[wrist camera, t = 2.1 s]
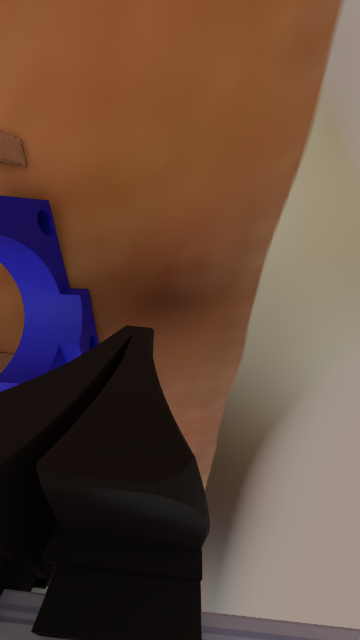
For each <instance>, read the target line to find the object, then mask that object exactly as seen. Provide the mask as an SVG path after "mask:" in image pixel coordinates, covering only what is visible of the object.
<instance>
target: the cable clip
mask: <svg viewBox="0 0 360 640" xmlns="http://www.w3.org/2000/svg"><path fill="white" fill-rule="evenodd" d="M0 262H1V263H2V264H3V265H4V266H5V268H6V269H7V270H8V271H9V272H10V274H11V275H12V277H13V278H14V280H15V282H16V284H17V286H18V288H19V290H20V293H21V296H22V299H23V304H24V312H25V322H24V330H23V335H22V338H21V341H20V344H19V346H18V349H17V351H16V353H15V354H14V356H13V358H12V359H11V361H10V362H9V364H8V365H7V366H6V367H5V369H4V370H3V371H2V372H1V373H0V392H1V391H3V390H6V389H9V388H11V387H14V386H17V385H19V384H21V383H24V382H26V381H28V380H31V379H33V378H36V377H38V376H40V375H43V374H45V373H47V372H49V371H52V370H54V369H56V368H58V367H60V366H62V365H64V364H66V363H68V362H70V361H71V360H73V359H75V358H77V357H79V356H80V355H82V354H84V353H85V352H87V351H89V350H90V349H92V348H94V347H95V346H97V345H99V343H98V338H97V333H96V327H95V322H94V317H93V312H92V307H91V302H90V296H89V291H88V289H71V288H69V284H68V280H67V275H66V271H65V267H64V263H63V259H62V255H61V250H60V246H59V242H58V238H57V234H56V229H55V225H54V221H53V217H52V213H51V209H50V204H49V201H47V200H37V199H28V198H19V197H9V196H0Z"/></svg>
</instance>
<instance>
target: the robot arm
mask: <svg viewBox="0 0 360 640" xmlns="http://www.w3.org/2000/svg"><path fill="white" fill-rule="evenodd" d="M153 340H154V330H153V329H152V328H146V327H137V326H128V325H127V326H125V327H123V328H122V329H121V330H119V331H118V332H116V333H115V334H113V335H112V336H110V337H109V338H107V339H106V340H104V341H103V342H102V343H100V344H99V345H97V346H95V347H94V348H92V349H90V350H89V351H87V352H85V353H84V354H82V355H80V356H79V357H77V358H75V359H73V360H71V361H70V362H68V363H66V364H64V365H62V366H60V367H58V368H56V369H54V370H52V371H49V372H47V373H45V374H43V375H40V376H38V377H36V378H33V379H31V380H28V381H26V382H24V383H21V384H19V385H17V386H14V387H11V388H9V389H6V390H3V391H1V392H0V640H360V629H351V628H343V627H333V626H324V625H316V624H306V623H298V622H290V621H281V620H272V619H263V618H254V617H246V616H236V615H228V614H219V613H211V612H202V611H201V588H200V587H201V585H200V581H201V580H202V546H203V544H204V542H205V540H206V538H207V535H208V533H209V528H210V519H209V511H208V506H207V500H206V495H205V491H204V487H203V483H202V479H201V476H200V472H199V469H198V466H197V462H196V459H195V456H194V454H193V453H192V451H191V449H190V447H189V446H188V444H187V442H186V440H185V439H184V437H183V435H182V433H181V431H180V429H179V427H178V425H177V423H176V421H175V419H174V417H173V415H172V413H171V411H170V408H169V406H168V404H167V401H166V399H165V397H164V394H163V391H162V389H161V386H160V383H159V380H158V376H157V373H156V369H155V364H154V360H153ZM47 586H48V589H47V592H46V594H44V593H35V592H31V590H32V588H41V589H46V587H47Z"/></svg>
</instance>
